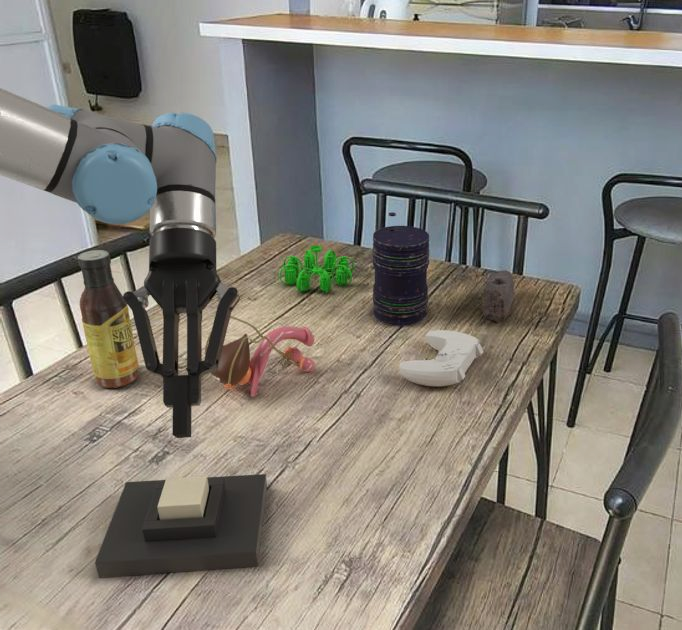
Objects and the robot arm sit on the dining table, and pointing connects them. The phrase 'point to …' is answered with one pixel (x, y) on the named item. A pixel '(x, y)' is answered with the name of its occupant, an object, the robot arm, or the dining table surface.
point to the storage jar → (400, 274)
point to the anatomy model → (259, 356)
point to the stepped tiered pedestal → (185, 530)
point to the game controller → (443, 359)
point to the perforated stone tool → (498, 296)
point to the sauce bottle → (106, 323)
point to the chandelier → (316, 270)
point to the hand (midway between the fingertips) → (182, 435)
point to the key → (183, 498)
